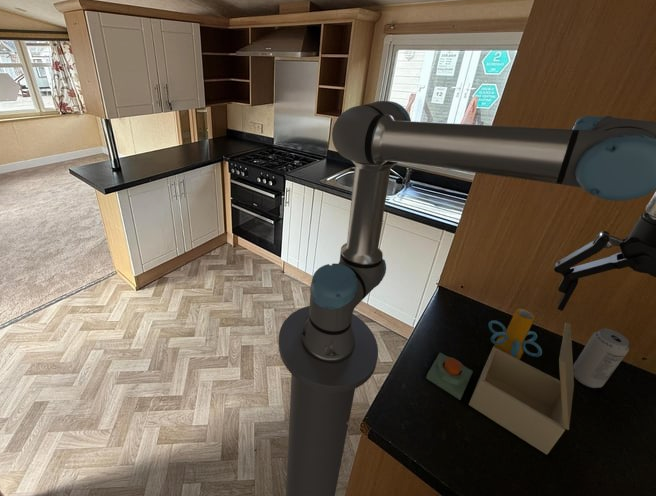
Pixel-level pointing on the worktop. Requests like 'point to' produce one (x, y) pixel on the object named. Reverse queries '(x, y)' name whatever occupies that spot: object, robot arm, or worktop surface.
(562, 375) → the beige board
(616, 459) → the worktop surface
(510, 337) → the cylinder
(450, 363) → the button
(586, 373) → the energy drink can
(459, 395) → the control block
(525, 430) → the beige square box
